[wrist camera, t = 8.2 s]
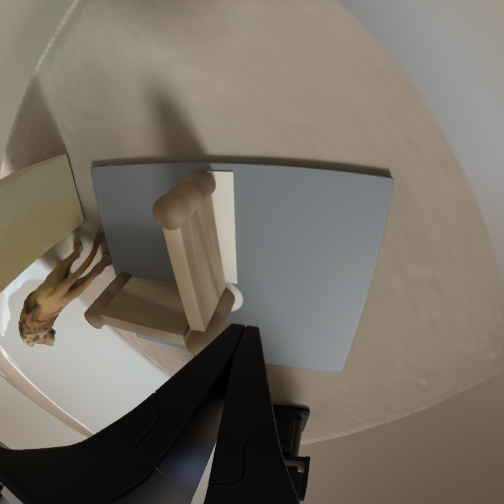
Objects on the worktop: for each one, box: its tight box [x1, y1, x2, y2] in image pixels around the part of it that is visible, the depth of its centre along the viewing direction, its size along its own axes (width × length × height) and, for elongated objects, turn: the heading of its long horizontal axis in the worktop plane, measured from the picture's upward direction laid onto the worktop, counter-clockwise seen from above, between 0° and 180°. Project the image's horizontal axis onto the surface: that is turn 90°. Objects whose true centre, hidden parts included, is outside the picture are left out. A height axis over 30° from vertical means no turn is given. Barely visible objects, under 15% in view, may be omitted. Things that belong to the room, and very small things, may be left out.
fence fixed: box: [84, 272, 235, 355], centre depth 21 cm, size 2×11×6 cm, turn 91°
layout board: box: [91, 162, 393, 372], centre depth 22 cm, size 18×22×1 cm
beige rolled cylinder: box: [152, 170, 226, 332], centre depth 17 cm, size 2×9×5 cm, turn 6°
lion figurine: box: [19, 231, 112, 347], centre depth 22 cm, size 15×5×9 cm, turn 136°
